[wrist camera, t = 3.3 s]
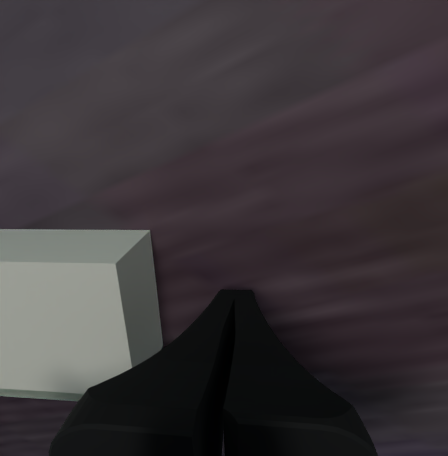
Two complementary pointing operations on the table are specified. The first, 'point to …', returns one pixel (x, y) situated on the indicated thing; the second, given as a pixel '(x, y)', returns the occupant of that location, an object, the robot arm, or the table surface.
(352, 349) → the table surface
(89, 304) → the white rectangular box
